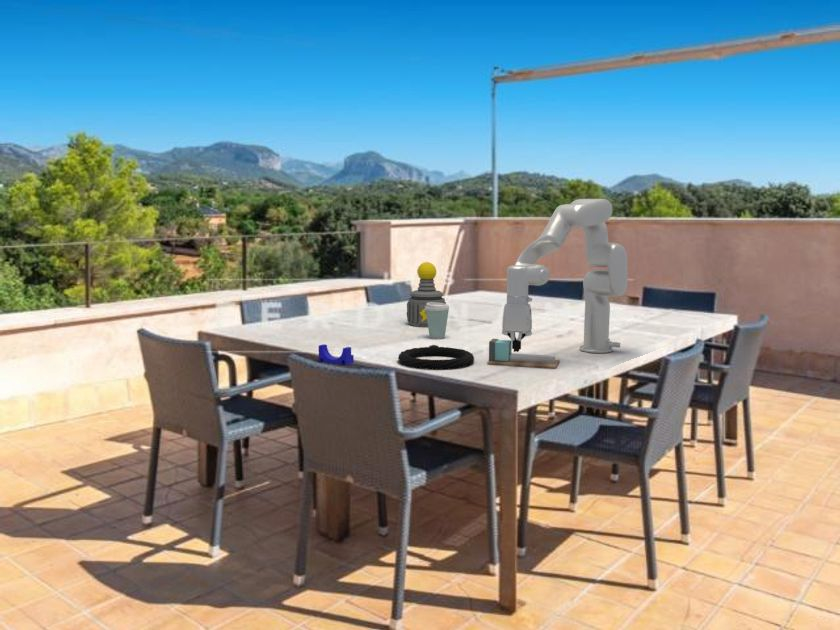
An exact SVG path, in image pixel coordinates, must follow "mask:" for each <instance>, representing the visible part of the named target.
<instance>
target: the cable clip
mask: <svg viewBox="0 0 840 630" xmlns="http://www.w3.org/2000/svg"><path fill="white" fill-rule="evenodd" d="M354 360H355V357H354V354H352V347H349V346H346V347H343V348H342V353H341V355H340V356H339V357H335V356H333V355H332V354H331V353H330V352H329V349H328V345H327V344H324V343H323V344H320V345H318V362H320V363H327V364H336V365H343V366H344V365H346V366H347V365H351V364H353V363H354V362H355V361H354Z"/></svg>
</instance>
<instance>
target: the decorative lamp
mask: <svg viewBox="0 0 840 630" xmlns="http://www.w3.org/2000/svg"><path fill="white" fill-rule="evenodd" d="M417 275H418V276H417V277H418V278H419V282H418V287H417V289H416V290H414V291H410V296H411V297H409V298H408V301H407V303H406V321H407V322H408V325H409V326H411V327H416V328H428V322H427V315H426V309H425V306H426V303H429V302H436V303H444V304H447V302H446V300H445V298H444V297H443V296H444V293H443V292H442V291H440V290H437V288H436V287H435V286H436V284H435V283H434V282H435V279H434V278H436V276H437V269H436V266H435V265H434V264H433V263H431V262H428V261H424V262H422V263H420V265H419V266H418V268H417Z"/></svg>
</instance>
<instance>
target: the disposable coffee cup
mask: <svg viewBox="0 0 840 630" xmlns="http://www.w3.org/2000/svg"><path fill="white" fill-rule="evenodd" d="M425 309H426V315H427V322H428V327H427V329H428V335H429V338H430V339H433V340H442V339H444V338H445V337H446V332H447V324H448V318H449V317H448V316H449V311H450V307H449V304H447V303H446V304H444V303H436V302H429V303H426V306H425Z"/></svg>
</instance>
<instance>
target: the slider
mask: <svg viewBox="0 0 840 630" xmlns="http://www.w3.org/2000/svg"><path fill="white" fill-rule="evenodd" d="M512 350H513V349H512V340H511V339H510V340H509V339H508V340H507V339H498V340H497V341H496V342H495V360H498V361H509V353H513V352H512Z"/></svg>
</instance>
